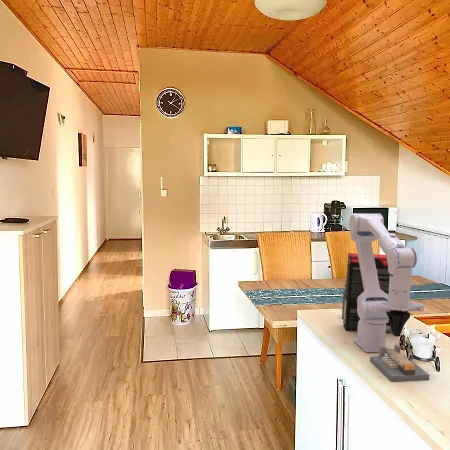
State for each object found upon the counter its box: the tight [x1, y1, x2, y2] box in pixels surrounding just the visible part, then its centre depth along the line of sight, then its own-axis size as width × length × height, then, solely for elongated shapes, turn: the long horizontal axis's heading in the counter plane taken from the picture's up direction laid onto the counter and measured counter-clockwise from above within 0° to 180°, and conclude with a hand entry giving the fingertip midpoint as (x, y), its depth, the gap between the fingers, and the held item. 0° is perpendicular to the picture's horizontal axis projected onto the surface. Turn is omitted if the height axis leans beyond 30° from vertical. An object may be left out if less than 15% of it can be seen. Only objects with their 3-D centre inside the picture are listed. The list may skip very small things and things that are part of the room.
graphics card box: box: [342, 252, 392, 334], centre depth 162 cm, size 17×7×27 cm, turn 84°
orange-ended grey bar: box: [385, 348, 415, 370], centre depth 131 cm, size 12×3×1 cm, turn 8°
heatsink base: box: [369, 344, 430, 383], centre depth 131 cm, size 13×11×5 cm
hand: (396, 335), depth 133 cm, fingers closed
